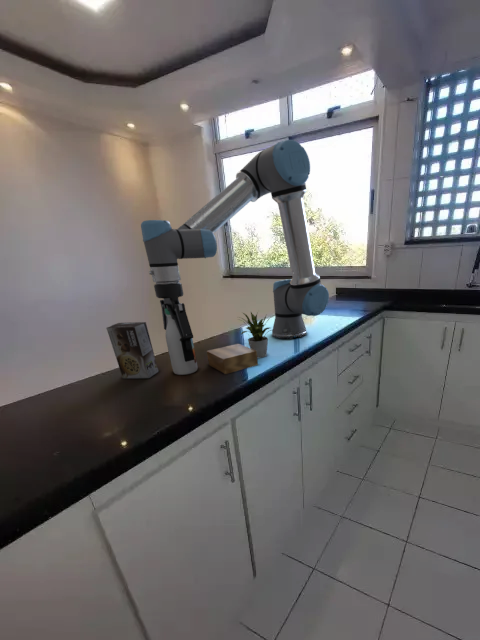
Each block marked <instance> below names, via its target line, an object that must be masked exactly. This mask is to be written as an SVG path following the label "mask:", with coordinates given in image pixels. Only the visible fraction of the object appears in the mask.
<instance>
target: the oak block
mask: <svg viewBox="0 0 480 640" xmlns="http://www.w3.org/2000/svg"><path fill="white" fill-rule="evenodd" d="M206 355H207V362H208V365H209V366H210V367H211V368H214V369H215V370H217V371H219V372H221V373H222V374H224V375H228V374H231V373H235V372H238V371H242V370H245V369H249V368H252V367H256V366H258V365H259V363H258V362H259V361H258V358H257V351H256V350H253V349H251V348H250V347H248V346H245V345H243V344H240V343H234V344H231V345H227V346H223V347H222V346H221V347H218V348H214V349H209V350H206Z"/></svg>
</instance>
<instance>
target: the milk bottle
mask: <svg viewBox="0 0 480 640" xmlns="http://www.w3.org/2000/svg"><path fill="white" fill-rule="evenodd" d="M165 313H166V316H167V318H168V323H167V328H166V330H165V342H166V346H167V351H168V356H169V360H170V364H171V368H172V372H173V373H174V374H175V375H179V376H181V375H182V376H183V375H184V376H185V375H191V374H193V373H195V372H197V371H198V369H199V366H198V361H197V356H196V355H197V354H196V351H195V344H194V340H193V338H191V344H192V349H193V354H194V359H195V360H191V361H187V362H185V359H184V354H183V349H182V344H181V341H180V338H181V336H180V333H179V331H178V328H177V326H176V323H175V321H174V320H173V319H172V318H171V315H170V313H169V311H168V310H167V308H166V309H165ZM186 335H187V334H186Z"/></svg>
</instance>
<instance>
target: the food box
mask: <svg viewBox="0 0 480 640" xmlns="http://www.w3.org/2000/svg"><path fill="white" fill-rule="evenodd" d="M105 329H106V332H107V334H108V337H109V341H110V344H111V347H112V350H113V353H114V355H115V359H116V362H117V365H118V368H119V371H120V374H121V378H122V379H150V378H152V377H153V376H154V375H156V374H158V373H159V367H158V364H157V360H156V356H155V352H154V348H153V344H152V341H151V337H150V332H149V330H148V326H147V322H146V321H134V322H133V321H131V322H117V323H114V324H112V325H110V326H107V327H106V328H105Z"/></svg>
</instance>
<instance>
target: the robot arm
mask: <svg viewBox="0 0 480 640" xmlns="http://www.w3.org/2000/svg"><path fill="white" fill-rule="evenodd" d="M310 174H311V161H310V157H309V154H308V152H307V151H306V149H305V147H303V146H302V145H301V143H299V142H298V141H297V140H294V139H284V140H281V141H279V142H276V143H275V144H273V145H271V146H269V147H267V148H265V149H262V150H261V151H259V152H258V153H256V154H255V156H253V157H252V158H251V160H249V161H248V163H246V164H245V165H244V166H243V168H241V169H240V170H239V171H238V172H237V173H236V175H235V179H234V180H233V181H232V182H231V183H230V184H228V185H227V186H226V187H225V188H224V189H222V190H221V191H220V192H219V193H218V194H216V195H215V196H214V197H213V198H212V199H211V200H210V201H208V202H207V203H206V204H205V205H203V206H202V207H201V208H200V209H199V210H198V211H197V212H195V213H194V214H193V215H192V216H191V217H189V219H187V220H185V222H183V224H181V226H179V227H178V228H177V229H176V228H172V226H171V222H170V221H169V220H163V219H147V220H142V222H141V224H140V229H141V230H140V231H141V235H142V236H141V237H142V242H143V245H144V249H145V253H146V257H147V261H148V265H149V269H150V270H149V271H148V274H149V275H150V276H151V279H152V282H153V283H155V284H153V288H154V293H155V297H156V298H157V299H160V300H159V303H160V307H161V314H162V323H163V330H164V331H166V328H167V323H168V318H167V316H166V313H165V309H166V308H167V310H168V311H169V313H170V315H171V318H172V319H173V320H174V321H175V323H176V326H177V328H178V331H179V333H180V336H181V338H180V341H181V344H182V349H183V354H184V359H185V362H187V361H191V360H195V359H194V354H193V349H192V344H191V338H192V339H194V334H193V331H192V327H191V324H190V321H189V317H188V314H187V311H186V310H187V309H186V305H185V303H184V302H183V303H181V302H180V300H179V298H181V297H183V296H184V290H183V286H182V285H183V284H182V282H180V281H181V280H182V276H181V272H180V266H179V262H178V260H183V259H184V260H186V259H187V260H188V259H208V258H213V257H215V256H216V254H217V250H218V243H217V238H216V236H215V233H216V232H217V231H219V230H220V229H221V228H222V227H223V226H224V225H225V224H227V223H228V221H230V220H231V219H232V218H233V217H234V216H236V215H237V214H238V213H239V212H240V211H241V210H242V209H244V208H245V207H246V206H247V205H248V204H249V203H250V202H252V203H255V202H257V201H258V200H259V199H260V198H262V197H263V196H266V195H268V194H270V195H271V200H273V201H274V202H275V203H277V207H278V211H279V216H280V221H281V226H282V231H283V236H284V241H285V246H286V251H287V256H288V262H289V266H290V270H291V276H292V277H291V278H288V279H281V280H276V281H274V283H273V285H272V286H273V287H272V293H273V305H274V306H273V307H274V317H275V318H274V321H273V322H274V323H273V326H272V328H271V334H272V335H271V336H272V337H273V338H276V339H282V340H291V339H299V338H302V337H306V336H307V327H306V325H305V322H304V319H303V315H305V316H307V317H310V316H311V317H316V316H320V315H321V314H323V313H324V311H325V310H326V308H327V307H328V304H329V301H330V293H329V290H328V288H327V287H326V286H325V285H324V284H322V282H321V276H320V274H318V273H316V270H315V269H316V268H315V263H314V258H313V252H312V245H311V239H310V233H309V227H308V221H307V215H306V208H305V203H304V202H305V201H304V196H305V194H306V193H307V185H306V182H307V181H308V180H309V175H310ZM186 334H187V335H186Z"/></svg>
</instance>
